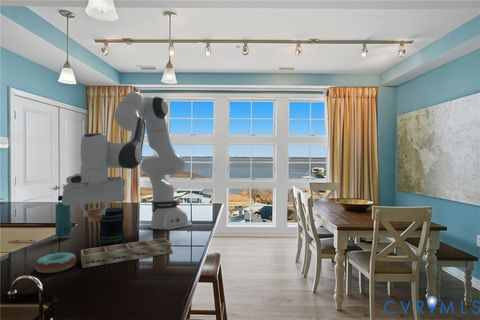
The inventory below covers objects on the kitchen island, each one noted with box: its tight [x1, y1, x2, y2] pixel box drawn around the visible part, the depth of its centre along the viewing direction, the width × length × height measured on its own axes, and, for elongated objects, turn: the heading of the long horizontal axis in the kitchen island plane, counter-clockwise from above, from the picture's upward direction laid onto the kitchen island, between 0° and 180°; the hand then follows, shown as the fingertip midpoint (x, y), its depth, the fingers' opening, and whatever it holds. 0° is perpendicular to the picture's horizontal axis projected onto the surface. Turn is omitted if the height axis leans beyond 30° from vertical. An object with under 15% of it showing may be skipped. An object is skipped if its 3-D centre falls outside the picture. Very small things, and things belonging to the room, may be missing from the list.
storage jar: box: [98, 207, 125, 247], centre depth 127 cm, size 10×10×15 cm
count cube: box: [87, 207, 102, 223], centre depth 106 cm, size 4×4×4 cm
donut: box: [34, 252, 77, 274], centre depth 99 cm, size 12×12×4 cm
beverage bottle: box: [55, 195, 72, 238], centre depth 137 cm, size 6×7×20 cm
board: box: [80, 237, 173, 269], centre depth 111 cm, size 31×10×4 cm, turn 121°
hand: (94, 215), depth 106 cm, fingers closed on count cube, 4 cm apart
